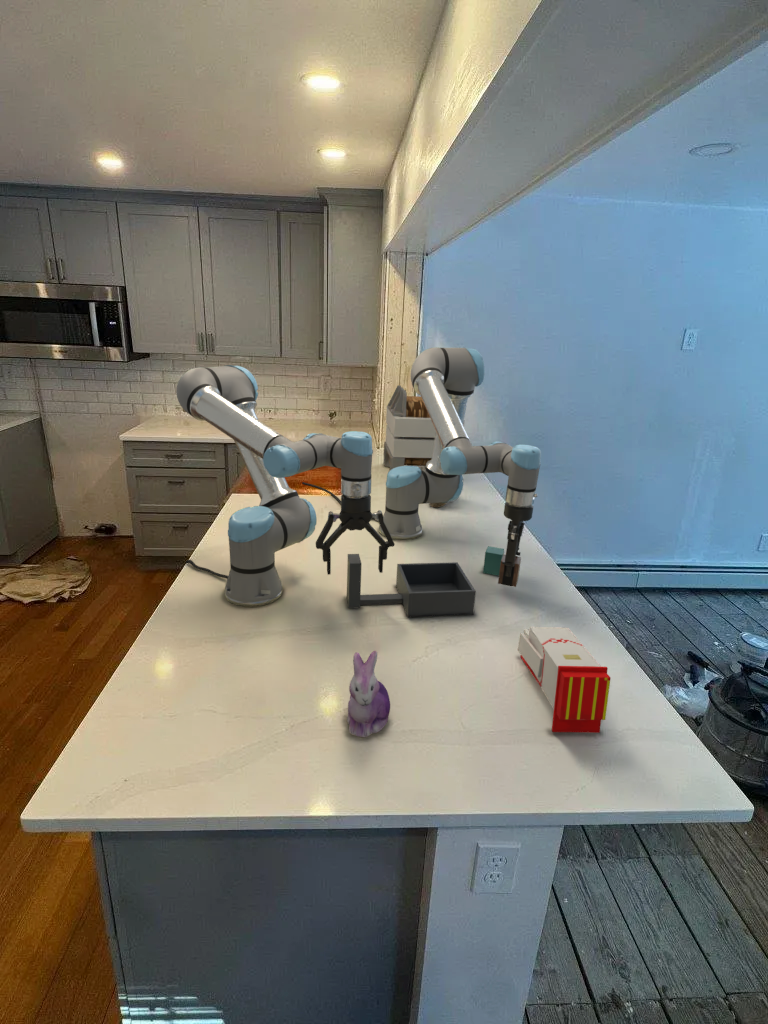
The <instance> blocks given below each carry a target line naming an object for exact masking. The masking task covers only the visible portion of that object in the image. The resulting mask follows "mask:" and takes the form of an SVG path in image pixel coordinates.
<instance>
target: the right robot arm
mask: <svg viewBox="0 0 768 1024" xmlns="http://www.w3.org/2000/svg"><path fill="white" fill-rule="evenodd" d="M485 375H486V366H485V362H484V358H483V356H482V354H481V352H480V351H479V350H477V349H475V348H468V347H466V346H465V347H464V346H463V347H437V346H435V347H429V348H427V349H424V350H423V351H421V352H420V353H419V354H418V355H417V356H416V358H415V359H414V361H413V363H412V365H411V368H410V382H411V386H412V388H413V390H414V392H415V393H416V394H417V395H419V396H420V397H421V398H422V400H423V402H424V405H425V407H426V409H427V412H428V414H429V416H430V419H431V421H432V423H433V425H434V428H435V430H436V433H435V439H434V446H433V452H432V458H431V460H430V461H428V462H427V463H426V466H425V468H424V469H423V470H422V469H421V467H420V466H407V465H404V466H400V467H396V468H393V469H392V470H390V469H389V470H388V472H387V475H386V480H385V481H386V482H385V504H384V505H385V507H384V508H385V509H384V513H383V521H384V523H385V525H386V527H387V529H388V531H389V533H390V535H391V537H392V539H393V540H395V541H410V540H415V539H418V538H420V537H421V536H422V535H423V525H422V524H421V518H420V515H419V507H420V506H419V505H423V504H429V503H439V502H442V503H446V502H447V503H449V502H454V501H456V500H457V499H458V498H459V497H460V496H461V494H462V492H463V489H464V481H463V480H464V475H475V474H476V475H477V474H495V473H502V474H504V475H505V476H507V477H508V478H507V485H506V491H505V499H504V500H505V503H504V507H503V508H504V509H503V516H504V517H505V518H507V520H509V523H508V525H507V537H506V539H507V542H506V550H505V555H506V556H505V562H502V564H504V565H505V566H504V573H503V580H502V584H501V585H502V586H506V587H513V586H512V582H513V575H514V568H515V557H521V554H522V553H521V551H520V544H521V538H522V536H523V531H524V527H525V522H529V521H530V520H531V519H532V518H533V513H534V504H535V498H537V497H539V495H538V493H536V492H537V486H538V482H539V481H538V479H539V474H540V467H541V459H542V450H541V449H540V448H539V447H537V446H534V445H530V444H516V445H514V446H512V445H510V444H509V443H506V442H503V441H497V440H496V441H493V442H491V443H489V444H488V445H473V444H472V442H471V440H470V438H469V436H468V433H467V431H466V429H465V426H464V427H463V422H464V423H465V421H464V420H465V416H466V411H467V405H468V400H469V398H470V397H472V396H473V395H474V392H475V387H479V386H481V385H482V383H484V380H485ZM301 483H302V485H304V486H308V487H311V488H315V489H318V490H320V491H323V492H325V493H327V494H329V495H330V496H332V497H333V498H334V499H335V500H336V501H337V502H338V503H339V505H341V498H339V497H338V496H337V495H335V494H334V493H333V492H331V491H330V490H328V489H326V488H324V487H322V486H318V485H315V484H312V483H308V482H304V481H302V482H301ZM447 503H446V504H447ZM371 520H374V521H376V520H375V518H372V519H371ZM378 533H379V535H380V536H382V537H385V538H386V536H385V534H384V532H383V530H382V528H381V526H380V525H378Z"/></svg>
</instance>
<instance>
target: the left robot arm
mask: <svg viewBox="0 0 768 1024" xmlns="http://www.w3.org/2000/svg"><path fill="white" fill-rule="evenodd" d="M175 389H176V391H175V393H176V398H177V401H178V404H179V406H181V408H182V409H183V410H184V411H185V412H186V413H187V414H188V415H189V416H191V417H192V418H193V419H195V420H197V421H201V422H202V421H205V422H206V423H208V424H209V425H211V426H213V427H214V428H216V429H217V430H218V431H220V432H221V433H223V434H225V435H226V436H227V437H229V438H230V439H232V440H233V441H234V444H235V446H236V449H237V450H238V453H239V455H240V457H241V459H242V461H243V463H244V465H245V468H246V470H247V472H248V475H249V476H250V479H251V481H252V483H253V486H254V487H255V490H256V492H257V494H258V496H259V499H260V502H259V505H254V506H252V507H251V506H246V507H243V508H241V509H238V510H237V511H235V512H234V513H232V514H231V515H230V517H229V519H228V527H227V537H228V547H229V548H228V549H229V567H230V568H229V573H228V575H227V574H223V573H220V572H219V573H218V572H217V571H213V570H212V569H209V568H207V567H202V566H199V565H197V564H196V563H195V562H194V561H193V560H192V559H187V560H186V561H185V564H187V563H188V564H190V565H191V566H192V567H193V568H194V569H196V570H199V571H203V572H207V573H209V574H211V575H213V576H216V577H219V578H222V579H226V582H225V585H224V599H225V600H226V601H228V603H231V604H233V605H236V606H239V607H248V608H249V607H250V608H251V607H261V606H265V605H269V604H271V603H273V602H275V601H277V600H278V599H280V597H282V595H283V585H282V581H281V578H280V576H279V573H278V571H277V568H276V562H275V561H276V557H275V555H276V554H275V553H277V552H279V551H280V550H283V549H286V548H287V547H290V546H293V545H295V544H300V543H301V542H303V541H304V540H306V539H308V538H310V537H311V536H312V535H313V534H314V532H315V530H316V526H317V513H316V510H315V507H314V505H313V504H312V502H310V501H308V500H307V499H306V498H303V497H300V495H299V493H298V491H297V490H295V489H293V488H291V487H290V485H289V484H288V482H287V480H286V478H289V477H292V476H295V475H297V474H302V473H305V472H309V471H312V470H315V469H318V468H322V467H331V468H336V469H340V493H341V495H340V500H341V504H340V512H339V513H336V512H333V511H332V510H331V511H329V512H328V514H327V520H326V522H325V524H324V526H323V527H322V529H321V531H320V533H319V535H318V537H317V539H316V541H315V548H316V549H317V550H321V551H322V561H323V562H324V563H326V573H327V576H329V575H331V573H332V571H331V570H332V569H331V568H332V567H331V566H332V565H331V561H332V559H331V557H332V555H331V551H332V550H331V547H332V546H333V545H334V543H336V541H337V540H338V538H340V537H341V536H342V534H344V533H345V532H346V531H347V530H349V531H362V530H364V529H365V530H366V531H367V532H368V533H369V534H370V535H371V536H372V537H373V539H375V541H376V542H377V543H378V544H379V545H378V559H377V560H378V561H377V562H378V566H377V569H378V572H379V573H380V574H381V573H383V572H384V571H383V570H384V569H383V568H384V561H386V560H387V559H388V549H389V548H391V547H394V546H395V545H396V544H395V541H394V539H392V537H391V535H390V533H389V531H388V529H387V527H386V525H385V523H384V521H383V515H384V513H383V512H382V510H379V509H378V511H376V512H372V496H371V494H372V465H373V463H372V462H373V454H374V449H373V438H372V436H371V434H369V432H365V431H356V430H354V431H345V432H343V433H342V434H341V437H339V436H333V435H328V434H324V433H316V432H311V433H308V434H307V435H306V436H305V437H304V438H302V439H301V440H297V441H296V440H295V441H292V440H291V439H289V438H287V437H286V436H284V435H283V434H281V433H280V432H278V431H277V430H276V429H275V430H274V429H273V428H272V427H270V426H269V425H267V424H265V423H264V422H262V421H261V420H259V418H258V416H257V413H256V409H257V407H258V403H257V400H258V396H259V392H258V390H259V386H258V382H257V380H256V378H255V376H254V375H253V373H252V372H251V371H250V370H248V369H247V368H246V367H244V366H241V365H232V364H226V365H222V366H221V365H220V366H208V367H207V366H206V367H194V368H191V369H189V370H187V371H185V372H184V373H183V374H182V375H181V377H180V378H178V382H177V385H176V388H175ZM372 518H375V520H374V521H376V522H378V524H379V526H381V528H382V530H383V532H384V534H385V536H386V537H385V538H386V540H385V539H384V538H383V536H382V535H381V534H380V533H379V532H378V531H376V529H375V528H374V527H373V526H372V525H371V523H370V522H371V521H372V520H373V519H372ZM338 519H339V520H340V523H339V525H338V527H337V528H336V529H334V530H333V532H332V533H331V534H330V535H329V536H328V534H329V532H330V530H331V529H332V527H333V524H334V523H336V522H337V521H338ZM327 536H328V538H327ZM326 538H327V539H326Z"/></svg>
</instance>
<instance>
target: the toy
mask: <svg viewBox="0 0 768 1024" xmlns="http://www.w3.org/2000/svg"><path fill="white" fill-rule="evenodd" d="M518 638H519V639H518V646H517V651H518V653H519V654H520V659H521V660H522V662H523V663H524V665H525V666H526V668H527V669H528V670H529V672H530V673H531V675H532V676H533V678H534V679H535V681H536V683H537V684H538V685H539V687H541V691H542V692H543V694H544V695H545V697H546V698H547V701H548V702H549V704H550V705H551V707H552V709H553V714H552V724H551V732H552V733H586V734H587V733H593V734H595V733H597V734H600V732H601V724H602V721H606V719H607V711H608V710H607V709H608V701H609V694H610V686H611V676H610V675H609V674H608V669H609V668H608V666H601V665H600V663H599V662H598V661H597V660H596V658H594V656H593V655H592V654H591V652H589V651H588V649H587V648H586V647H585V646H584V644H583V643H582V642H581V640H579V639H578V637H577V636H576V635H575V633H573V631H572V630H571V629H570V628H569V627H557V626H556V627H555V626H554V627H553V626H529V628H524V629H523V632H520V633H519V637H518Z"/></svg>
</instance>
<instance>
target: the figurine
mask: <svg viewBox="0 0 768 1024" xmlns="http://www.w3.org/2000/svg"><path fill="white" fill-rule="evenodd" d="M377 660H378V651H377V650H373V651H372V652H371V653H369V656H368V657H367V660H366V661H365V662H364V660H363V658H362V657H361V655H360V653H359V652H357V651H355V652H354V654H353V659H352V663H353V675H352V677H351V680H350V682H349V686H348V687H349V688H348V690H349V694H350V696H349V700H348V703H347V717H346V721H347V725H348V732H349V734H351V735H352V736H357V737H359V738H360V737H361V738H367V737H369V736H371V735H372V734H377V733H380V732H381V731H382V730H383V728H384V727H385V726H386V725H387V723H388V721H389V716H390V712H391V700H390V695H389V691H388V689H387V688H386V687H385V685H384V684H383V682H381V681H379V680H378V678H377V676H376V674H375V669H376V665H377Z"/></svg>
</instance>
